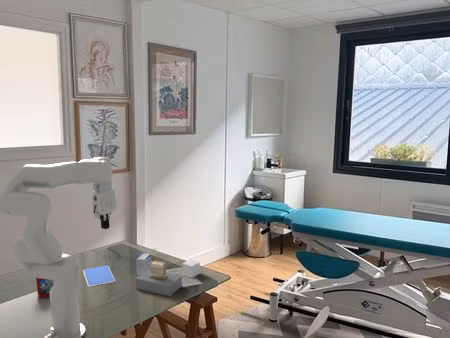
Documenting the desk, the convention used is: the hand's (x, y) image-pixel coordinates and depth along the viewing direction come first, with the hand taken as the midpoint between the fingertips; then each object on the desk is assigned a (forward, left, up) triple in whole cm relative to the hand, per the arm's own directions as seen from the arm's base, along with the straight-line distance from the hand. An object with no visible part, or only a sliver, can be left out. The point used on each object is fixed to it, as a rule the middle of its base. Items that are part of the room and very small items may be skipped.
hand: (105, 228), depth 176 cm
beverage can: (-11, +26, -31) cm, 42 cm away
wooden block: (+15, -16, -31) cm, 38 cm away
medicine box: (+25, -1, -31) cm, 40 cm away
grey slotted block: (+15, -16, -31) cm, 38 cm away
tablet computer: (+13, +17, -32) cm, 38 cm away
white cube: (+33, -23, -31) cm, 51 cm away
